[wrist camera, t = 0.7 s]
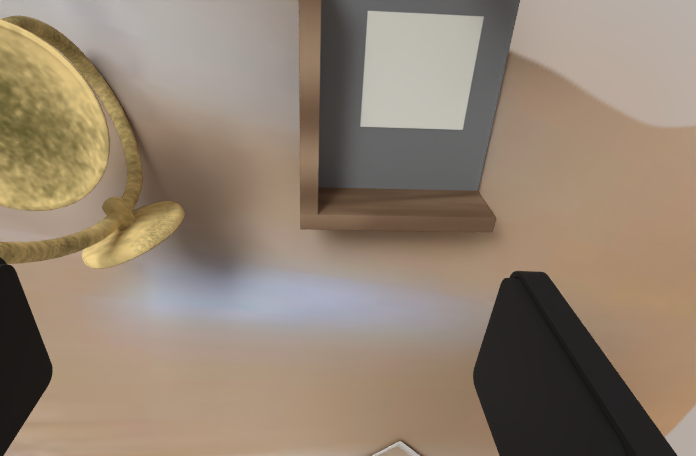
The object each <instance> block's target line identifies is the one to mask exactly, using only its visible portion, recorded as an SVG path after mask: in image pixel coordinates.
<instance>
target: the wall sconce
mask: <svg viewBox="0 0 696 456" xmlns="http://www.w3.org/2000/svg"><path fill="white" fill-rule="evenodd" d="M45 41H46V42H45ZM47 42H48V43H49V44H48V43H47ZM51 45H52V46H53V47H55V48H56V49H57V50H59V51H60V52H61V53H62V54H63V55H64V56H65V57H67V58H68V59H69V60H70V61H71V62H72V63H73V64H74V65H73V64H72V63H71V62H69V61H68V60H67V59H66V58H65V57H64V56H63V55H62V54H61V53H60V52H59V51H57V50H56V49H55V48H53V47H52V46H51ZM74 66H75V67H76V68H77V69H78V70H79V71H80V72H81V74H82V75H83V76H84V77H85V78H86V80H87V81H88V82H89V84H90V85H91V86H92V88H93V89H94V91H95V92H96V94H97V95H98V96H99V98H100V100H101V101H102V103H103V104H104V106H105V108H106V109H107V111H108V113H109V115H110V117H111V119H112V121H113V123H114V125H115V127H116V129H117V132H118V134H119V137H120V140H121V143H122V146H123V150H124V154H125V158H126V164H127V176H128V178H127V186H126V189H125V192H124V194H123V196H122V198H121V197H111V198H109V199H107V200H106V201H105V202H104V204H103V206H102V208H103V210H104V212H105V213H106V215H107V216H106V217H105V218H104V219H103V220H102V221H100V222H99V223H97V224H95V225H94V226H92V227H90V228H88V229H85V230H83V231H81V232H78V233H75V234H72V235H69V236H65V237H60V238H56V239H51V240H44V241H35V242H0V257H1V258H2V259H3V260H4V261H5V262H6V264H16V263H28V262H37V261H43V260H48V259H53V258H58V257H62V256H65V255H69V254H72V253H75V252H78V251H80V250H83V249H84V250H83V253H82V259H83V261H84V263H85V264H86V265H87V266H88V267H90V268H93V269H102V268H108V267H112V266H116V265H119V264H122V263H124V262H127V261H129V260H131V259H134V258H136V257H138V256H140V255H142V254H143V253H145V252H147V251H149V250H150V249H152V248H154V247H155V246H157V245H158V244H159V243H161V242H162V241H164V240H165V239H166V238H167V237H169V236H170V235H171V234H172V233H173V232H174V231H175V230H176V229H177V228H178V227H179V225H180V224H181V222H182V221H183V219H184V215H185V213H184V210H183V208H182V207H181V205H179V204H178V203H176V202H172V201H163V202H157V203H153V204H149V205H146V206H143V207H140V208H138V209H135V210H133V208H134V206H135V205H136V203H137V201H138V198H139V195H140V192H141V188H142V180H143V177H142V165H141V159H140V154H139V150H138V146H137V143H136V140H135V137H134V134H133V131H132V129H131V126H130V124H129V121H128V119H127V117H126V115H125V113H124V111H123V109H122V107H121V105H120V104H119V102H118V100H117V98H116V97H115V95H114V93H113V92H112V90H111V89H110V87H109V86H108V84H107V83H106V81H105V80H104V78H103V77H102V76H101V74H100V73H99V71H98V70H97V69H96V68H95V66H94V65H93V64H92V63H91V61H90V60H89V59H88V58H87V57H86V56H85V54H84V53H83V52H82V51H81V50H80V49H79V48H78V47H77V46H76V45H75V44H74V43H72V42H71V41H70V40H69V39H68V38H67V37H66V36H64V35H63V34H62V33H60V32H59V31H58V30H56V29H54V28H53V27H51V26H49V25H48V24H46V23H44V22H41V21H39V20H37V19H33V18H30V17H25V16H11V17H7V18H3V19H0V205H1V206H4V207H9V208H14V209H19V210H29V211H45V210H52V209H58V208H61V207H65V206H68V205H70V204H73V203H75V202H77V201H79V200H80V199H82V198H84V197H85V196H86V195H87V194H89V193H90V192H91V191H92V190H93V189H94V188H95V186H96V185H97V184H98V183H99V181H100V180H101V178H102V176H103V174H104V172H105V169H106V166H107V163H108V158H109V152H110V138H109V131H108V126H107V122H106V118H105V115H104V112H103V110H102V108H101V105H100V103H99V101H98V99H97V97H96V95H95V94H94V92H93V90H92V88H91V87H90V86H89V84H88V83H87V81H86V80H85V78H84V77H83V76H82V75H81V74H80V72H79V71H78V70H77V69H76V68H75V67H74ZM132 210H133V211H132Z"/></svg>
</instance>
